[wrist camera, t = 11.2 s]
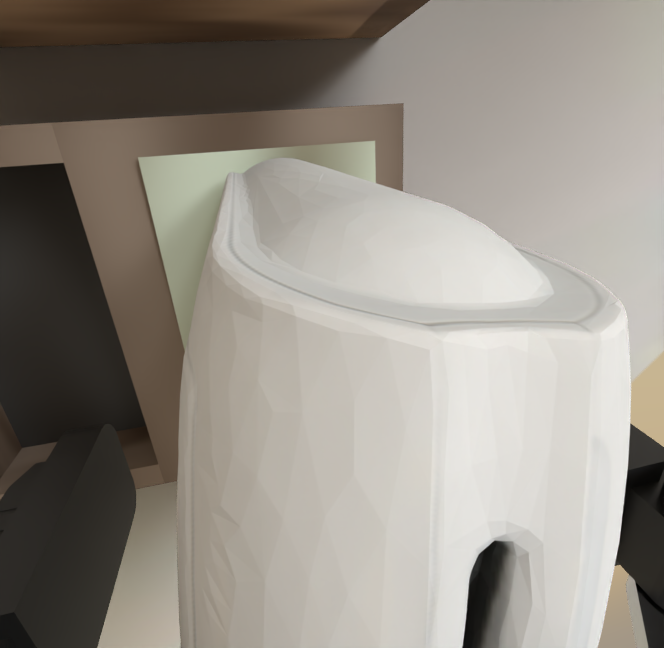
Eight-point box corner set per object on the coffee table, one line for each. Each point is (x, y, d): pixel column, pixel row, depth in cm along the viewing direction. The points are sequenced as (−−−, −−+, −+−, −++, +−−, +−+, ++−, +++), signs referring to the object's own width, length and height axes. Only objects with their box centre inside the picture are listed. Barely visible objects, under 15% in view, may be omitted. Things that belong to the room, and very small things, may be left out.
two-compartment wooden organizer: (373, 111, 15) (406, 102, 12) (379, 398, 21) (401, 439, 18) (-159, 141, 12) (-278, 140, 10) (9, 465, 18) (-35, 527, 15)
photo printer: (328, 431, 17) (509, 992, 6) (220, 437, 16) (180, 1135, 5) (357, 164, 13) (1154, 280, 2) (215, 150, 12) (-125, 212, 1)
